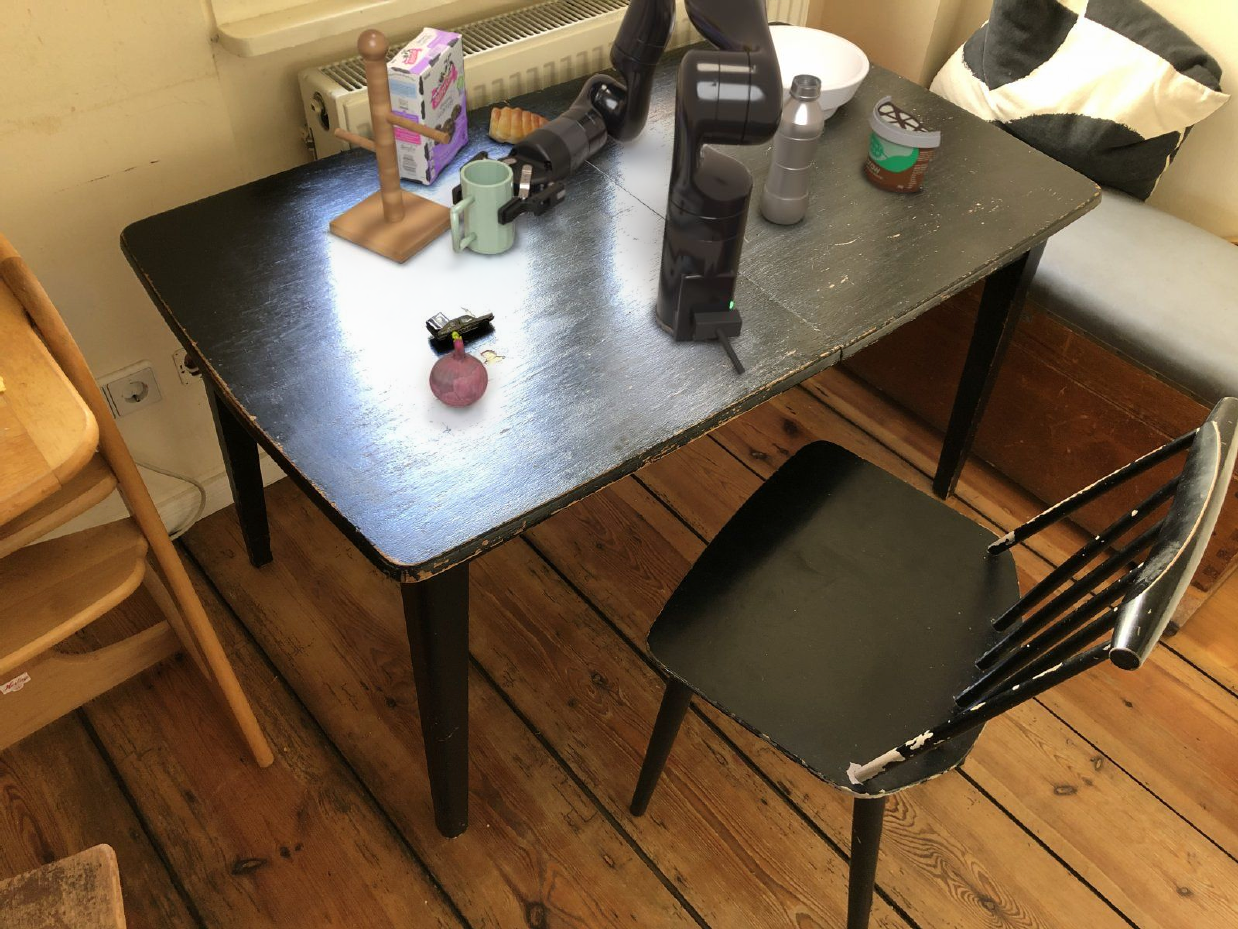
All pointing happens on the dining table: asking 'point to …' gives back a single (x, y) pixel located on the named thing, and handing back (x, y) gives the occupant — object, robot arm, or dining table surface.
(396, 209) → the mug tree
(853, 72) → the bowl
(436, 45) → the candy box
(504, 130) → the pastry
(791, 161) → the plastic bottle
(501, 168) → the mug
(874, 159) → the food container
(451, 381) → the vegetable
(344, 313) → the dining table surface
